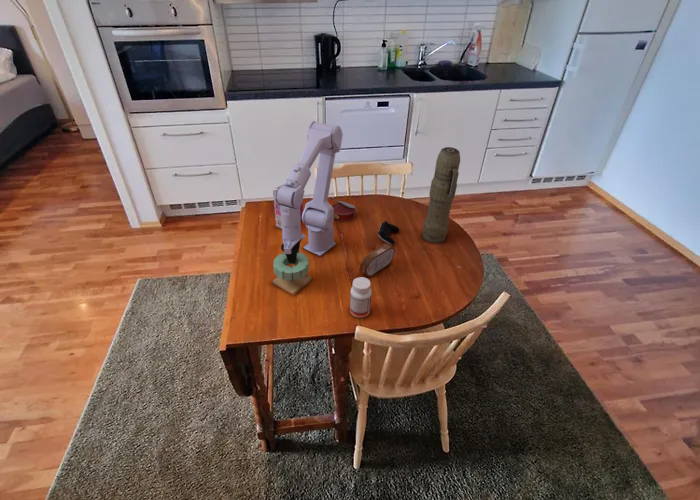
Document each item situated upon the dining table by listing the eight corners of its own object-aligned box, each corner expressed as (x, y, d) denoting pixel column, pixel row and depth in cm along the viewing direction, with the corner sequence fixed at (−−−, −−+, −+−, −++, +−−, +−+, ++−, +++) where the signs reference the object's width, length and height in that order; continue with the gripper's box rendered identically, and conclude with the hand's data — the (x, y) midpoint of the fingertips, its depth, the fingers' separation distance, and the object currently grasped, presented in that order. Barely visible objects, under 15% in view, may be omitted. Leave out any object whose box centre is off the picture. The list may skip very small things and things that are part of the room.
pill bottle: (359, 300, 122) (360, 272, 115) (374, 311, 119) (377, 282, 112) (345, 311, 118) (346, 282, 111) (360, 321, 115) (362, 293, 108)
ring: (290, 254, 131) (289, 247, 129) (315, 267, 126) (315, 259, 125) (267, 271, 124) (266, 264, 122) (293, 285, 119) (292, 277, 117)
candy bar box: (284, 231, 151) (281, 193, 142) (275, 227, 154) (271, 189, 144) (304, 219, 159) (302, 182, 149) (294, 215, 161) (292, 178, 151)
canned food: (332, 221, 167) (329, 197, 165) (355, 218, 167) (352, 194, 166) (332, 223, 156) (329, 198, 154) (357, 220, 156) (354, 194, 155)
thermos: (434, 226, 157) (450, 141, 137) (452, 242, 149) (472, 154, 128) (415, 231, 154) (429, 145, 133) (433, 247, 146) (450, 158, 125)
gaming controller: (392, 234, 156) (380, 222, 154) (400, 229, 153) (389, 216, 151) (386, 249, 147) (374, 236, 145) (395, 244, 145) (383, 230, 143)
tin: (388, 258, 140) (390, 238, 135) (395, 262, 138) (397, 242, 133) (358, 277, 131) (359, 256, 126) (365, 281, 129) (367, 261, 124)
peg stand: (291, 269, 133) (290, 255, 130) (311, 280, 129) (311, 265, 126) (272, 283, 127) (270, 269, 123) (293, 295, 123) (292, 280, 119)
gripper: (299, 237, 113) (301, 273, 121) (308, 211, 125) (309, 246, 133) (275, 235, 114) (279, 272, 122) (286, 210, 125) (288, 244, 133)
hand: (293, 258), depth 127 cm, fingers closed on ring, 3 cm apart
